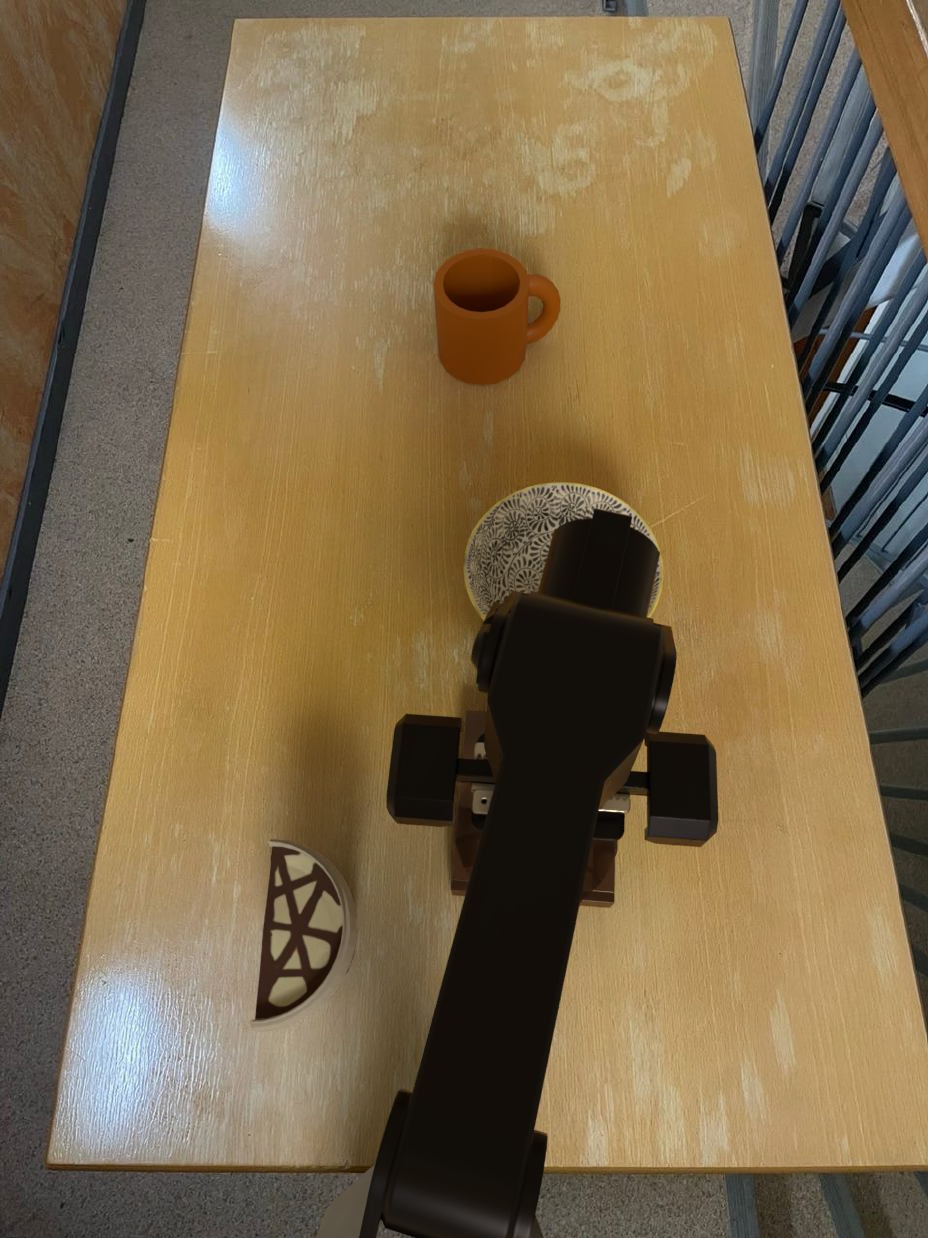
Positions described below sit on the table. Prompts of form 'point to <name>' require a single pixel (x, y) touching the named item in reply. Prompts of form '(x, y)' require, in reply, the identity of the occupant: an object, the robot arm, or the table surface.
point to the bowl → (534, 539)
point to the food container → (302, 936)
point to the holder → (467, 837)
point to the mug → (488, 314)
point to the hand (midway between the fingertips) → (543, 812)
